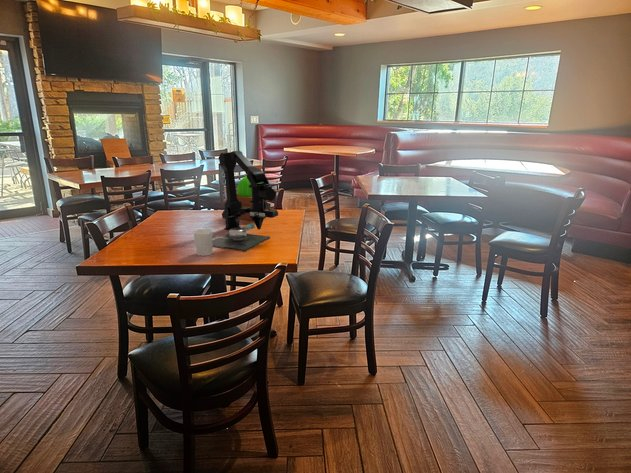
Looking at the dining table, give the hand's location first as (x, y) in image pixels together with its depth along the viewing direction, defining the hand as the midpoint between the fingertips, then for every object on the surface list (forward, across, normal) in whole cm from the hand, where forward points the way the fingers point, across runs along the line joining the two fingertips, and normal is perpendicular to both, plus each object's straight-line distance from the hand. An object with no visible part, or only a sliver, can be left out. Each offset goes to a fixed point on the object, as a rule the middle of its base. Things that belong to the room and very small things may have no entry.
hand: (259, 229), depth 200 cm
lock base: (+4, +6, +9) cm, 12 cm away
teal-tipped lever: (+2, +6, +4) cm, 8 cm away
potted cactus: (+5, +27, -36) cm, 45 cm away
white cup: (+5, +10, +29) cm, 31 cm away
